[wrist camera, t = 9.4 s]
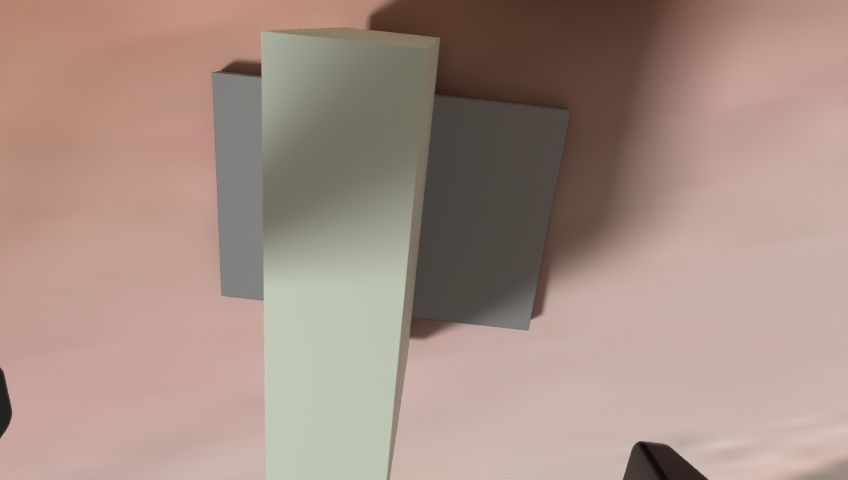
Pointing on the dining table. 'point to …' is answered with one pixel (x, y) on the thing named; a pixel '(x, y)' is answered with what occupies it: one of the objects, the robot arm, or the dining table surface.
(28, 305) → the dining table surface
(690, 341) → the dining table surface
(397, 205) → the sheet
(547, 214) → the mat
